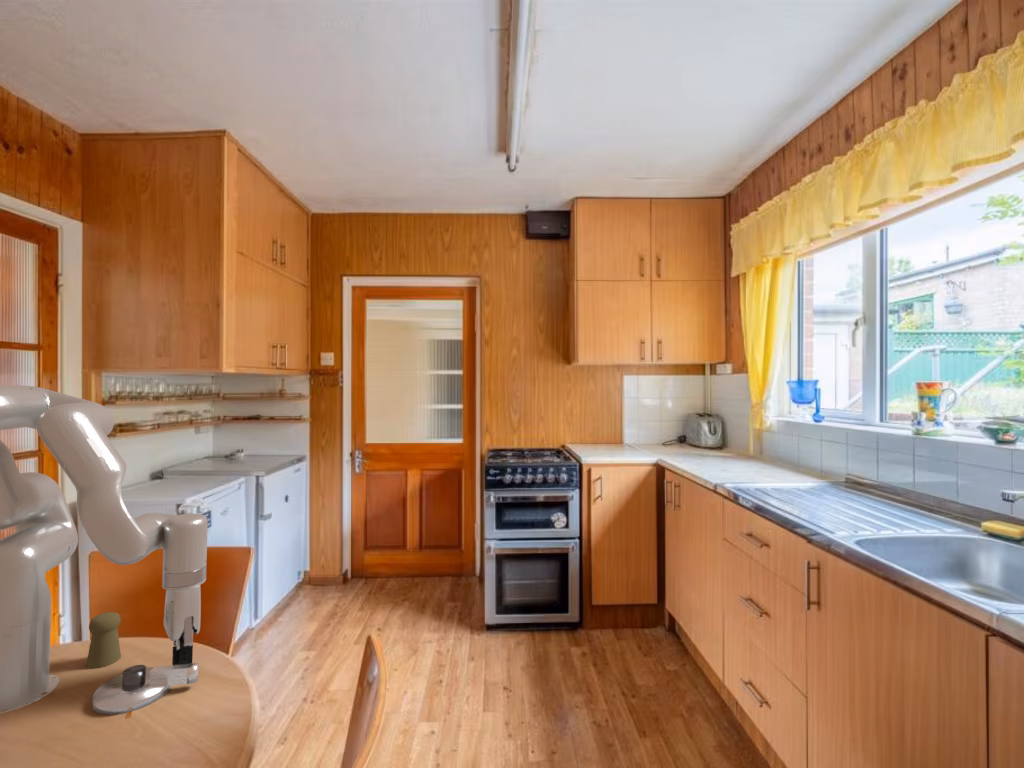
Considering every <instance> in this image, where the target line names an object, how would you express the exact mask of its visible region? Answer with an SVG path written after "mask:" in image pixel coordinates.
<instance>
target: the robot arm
mask: <svg viewBox="0 0 1024 768" xmlns="http://www.w3.org/2000/svg"><path fill="white" fill-rule="evenodd" d="M114 426H115V421H114V416H113V414H112V413H111V411H110V410H109V409H108V408H106V406H104V405H102V404H100V403H98V402H95V401H91V400H88V399H84V398H80V397H76V396H73V395H70V394H66V393H65V394H64V393H61V392H58V391H54V390H51V389H47V388H43V387H39V386H33V385H32V386H31V385H0V431H5V430H6V431H7V430H13V429H19V428H29V429H35V430H36V432H37V434H38V436H39V437H40V439H41V441H42V442H43V444H44V445H45V446H46V448H47V449H48V451H49V452H50V453H51V455H52V456H53V458H54V459H55V460H56V462H57V463H58V465H59V466H60V468H61V469H62V471H64V473H65V474H66V476H67V477H68V479H69V481H70V482H71V483H72V484H73V486H74V487H75V490H76V504H77V508H78V514H79V515H78V516H79V519H80V522H81V526H82V529H83V530H84V532H85V534H86V535H87V537H88V538H89V539H90V541H91V542H92V543H93V546H95V548H96V549H97V550H98V551H99V553H100V554H101V555H102V556H103V557H104V558H105V559H106V560H108V561H109V562H111V563H113V564H116V565H120V566H129V565H132V564H137V563H138V562H140V561H142V560H143V559H145V558H147V556H149V555H150V554H151V553H153V552H154V551H157V550H159V549H162V579H161V580H162V583H161V584H162V585H161V588H162V589H164V590H165V597H164V598H165V599H164V612H163V627H164V630H165V633H166V634H167V637H168V639H169V640H170V641H172V642H173V644H172V645H173V646H172V659H171V660H172V661H171V662H172V663H171V665H180V664H191V663H193V654H194V652H193V651H194V649H193V648H194V647H193V646H194V644H193V643H194V635H196V636H197V635H198V634H199V633H200V631H201V616H202V615H201V611H202V610H201V608H202V605H201V604H202V603H201V597H202V595H201V594H202V593H201V585H202V584H204V583H205V582H206V580H207V557H208V556H207V555H208V525H209V524H208V519H207V517H206V516H205V515H203V514H201V513H183V514H168V513H161V512H160V513H157V512H149V513H143V514H141V515H139V516H137V517H133V516H132V514H131V513H130V511H129V510H128V509H127V506H126V505H125V501H124V499H123V495H122V494H123V493H122V485H123V481H124V479H125V476H126V471H127V464H126V461H125V459H123V458H122V456H121V455H120V452H119V451H118V449H116V447H115V446H114V444H113V442H112V441H111V440H110V439H109V437H108V435H109V434H110V433H111V432H112V431H113V428H114ZM12 527H14V530H15V532H14V533H11V534H9V535H7V536H4V537H2V538H0V714H4V713H7V712H11V711H13V710H14V711H15V710H19V709H20V708H23V707H25V706H28V705H30V704H33V703H35V702H37V701H38V700H40V699H43V698H44V697H47V695H49V694H51V693H52V692H53V690H55V689H56V688H57V687H58V685H59V684H60V678H59V677H58V676H57V675H54V674H52V673H51V674H50V662H51V661H50V657H51V656H50V655H51V631H52V630H51V629H52V626H51V625H52V595H51V591H50V587H49V585H48V583H47V580H46V579H47V578H46V573H47V572H49V571H50V570H52V569H54V568H56V567H57V566H59V565H60V564H62V563H64V562H65V561H66V560H68V559H69V558H70V557H71V556H72V555H73V554H74V553H75V551H76V549H77V547H78V544H79V535H78V530H77V526H76V524H75V521H74V519H73V516H72V514H71V511H70V509H69V506H68V503H67V500H66V498H65V496H64V492H63V491H62V489H61V487H60V485H59V484H58V482H56V481H55V479H53V478H51V477H50V476H48V475H46V474H44V473H41V472H33V471H32V472H29V471H28V472H20V470H19V468H18V467H17V464H16V460H15V458H14V455H13V454H12V451H11V450H10V449H9V447H8V446H7V445H6V443H4V442H3V441H2V439H0V531H3V530H7V529H10V528H12ZM44 693H45V694H44Z"/></svg>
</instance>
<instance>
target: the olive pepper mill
mask: <svg viewBox="0 0 1024 768" xmlns="http://www.w3.org/2000/svg"><path fill="white" fill-rule="evenodd" d="M121 619H122V618H121V616H120V614H119V613H118V612H115V611H110V612H104V613H100V614H98V615H96V616H94V617H93V618H92V619H91V620H90V622H89V625H88V630H89V632H90V633H91V639H90V642H89V648H88V654H87V659H86V668H88V669H92V670H93V669H102V668H106V667H108V666H111V665H113V664H115V663H117V662H118V661H119V660H121V658H122V654H121V645H120V639H119V632H118V628H119V626H120V623H121Z"/></svg>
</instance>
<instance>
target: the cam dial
mask: <svg viewBox="0 0 1024 768" xmlns="http://www.w3.org/2000/svg"><path fill="white" fill-rule="evenodd" d="M198 680H199V663H198V662H192V663H191V664H180V665H172V664H170V665H159V666H150V667H147V666H146V665H145V664H136V665H132V666H129V667H127V668H125V669H124V670H123V671H122V673H121V674H119V675H117V676H114V677H112V678H110V679H109V680H107V681H105V682H104V683H103V684H101V685H100V686H99V687H98V688H96V690H95V691H94V693H93V695H92V710H93V711H94V712H96V713H98V714H100V715H106V716H107V715H109V716H112V715H121V714H127V713H128V712H131V711H132V712H134V711H136V710H139V709H142V708H144V707H146V706H148V705H151V704H153V703H154V702H156V701H157V700H159V699H161V698H162V697H164V696H165V695H166V694H167V693H168V692H169V690H171V687H172V686H176V685H185V684H187V685H191V684H194V683H196V682H198Z"/></svg>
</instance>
